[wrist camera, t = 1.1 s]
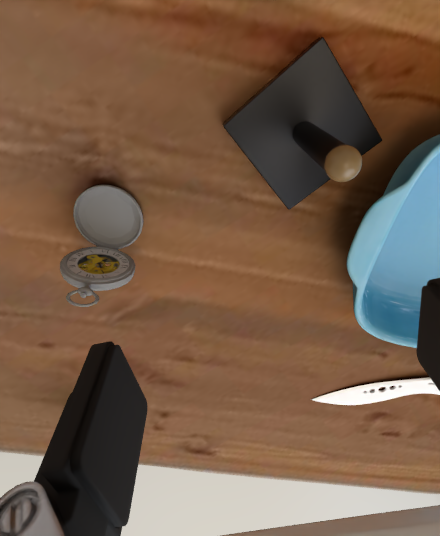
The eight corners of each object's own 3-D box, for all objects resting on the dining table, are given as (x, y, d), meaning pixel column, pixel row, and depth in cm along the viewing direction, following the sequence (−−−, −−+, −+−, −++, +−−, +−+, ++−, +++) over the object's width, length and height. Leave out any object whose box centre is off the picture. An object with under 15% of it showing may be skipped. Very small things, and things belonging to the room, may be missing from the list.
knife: (311, 405, 50) (331, 366, 46) (309, 395, 51) (328, 357, 47) (506, 433, 52) (541, 399, 48) (499, 424, 54) (532, 389, 50)
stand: (222, 123, 31) (229, 158, 20) (319, 37, 28) (388, 23, 17) (286, 205, 35) (321, 271, 24) (377, 137, 32) (463, 178, 21)
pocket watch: (122, 171, 33) (91, 211, 25) (164, 245, 37) (150, 301, 29) (49, 205, 35) (-4, 253, 26) (97, 272, 39) (64, 333, 30)
